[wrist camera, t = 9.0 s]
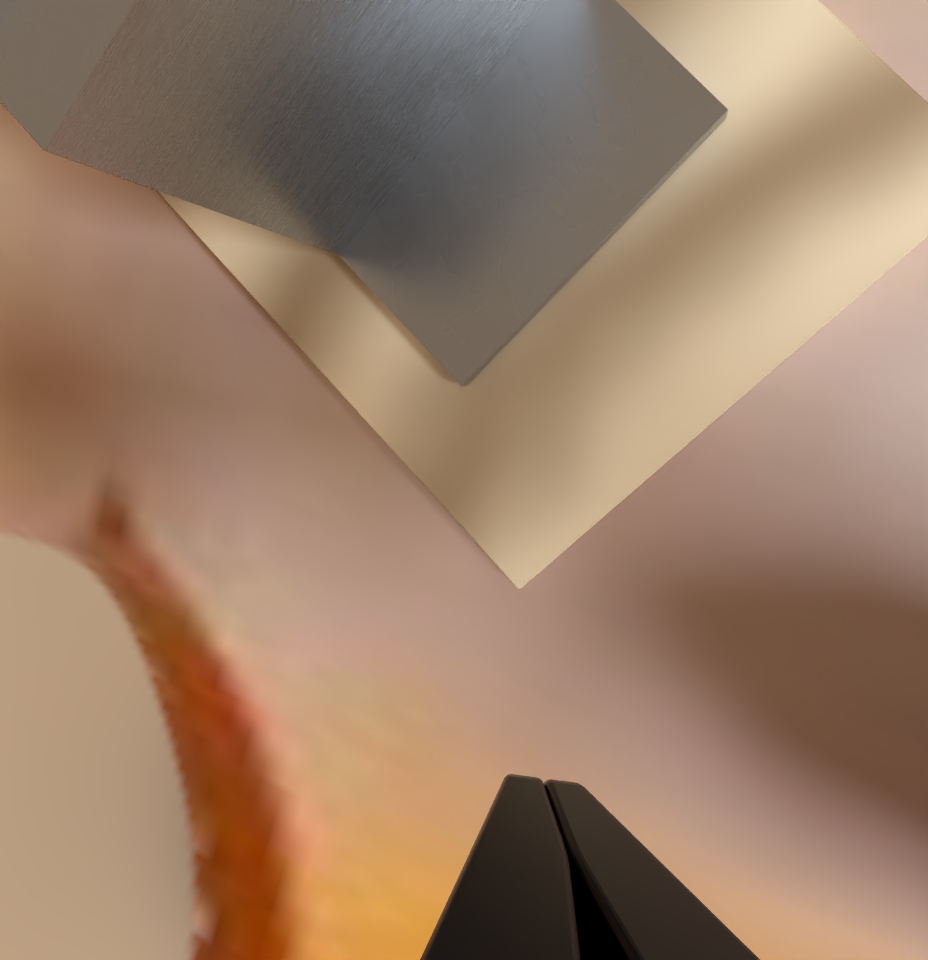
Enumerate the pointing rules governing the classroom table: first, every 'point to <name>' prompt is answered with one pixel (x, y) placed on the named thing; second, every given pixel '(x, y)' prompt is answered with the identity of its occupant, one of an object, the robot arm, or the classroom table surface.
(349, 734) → the classroom table surface
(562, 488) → the shelf
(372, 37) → the bookend
